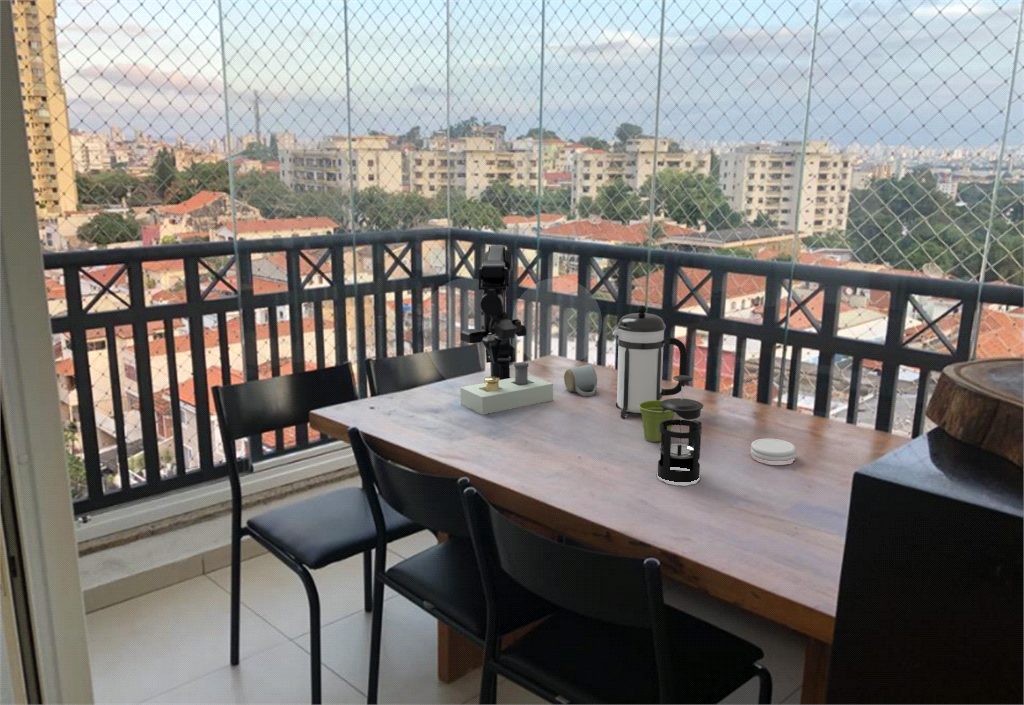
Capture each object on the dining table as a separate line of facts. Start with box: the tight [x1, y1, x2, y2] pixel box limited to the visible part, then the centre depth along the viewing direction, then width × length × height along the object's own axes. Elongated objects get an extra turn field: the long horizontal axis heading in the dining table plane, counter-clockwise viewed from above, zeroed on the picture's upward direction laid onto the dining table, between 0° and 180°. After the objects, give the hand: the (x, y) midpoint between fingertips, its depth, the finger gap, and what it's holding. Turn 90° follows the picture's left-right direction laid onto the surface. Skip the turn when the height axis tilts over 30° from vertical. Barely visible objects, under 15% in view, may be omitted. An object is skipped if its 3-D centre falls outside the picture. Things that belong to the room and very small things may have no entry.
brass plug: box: [484, 376, 500, 392], centre depth 224 cm, size 4×4×8 cm
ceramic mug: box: [563, 364, 598, 397], centre depth 237 cm, size 11×8×8 cm
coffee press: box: [612, 304, 688, 419], centre depth 215 cm, size 17×16×30 cm
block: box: [459, 374, 554, 415], centre depth 228 cm, size 12×24×5 cm, turn 123°
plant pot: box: [639, 400, 676, 442], centre depth 196 cm, size 9×9×9 cm
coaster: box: [750, 438, 797, 461], centre depth 184 cm, size 10×10×4 cm
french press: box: [657, 374, 704, 482], centre depth 171 cm, size 12×9×23 cm
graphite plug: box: [513, 361, 529, 386], centre depth 229 cm, size 4×4×8 cm
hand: (494, 362), depth 223 cm, fingers closed
